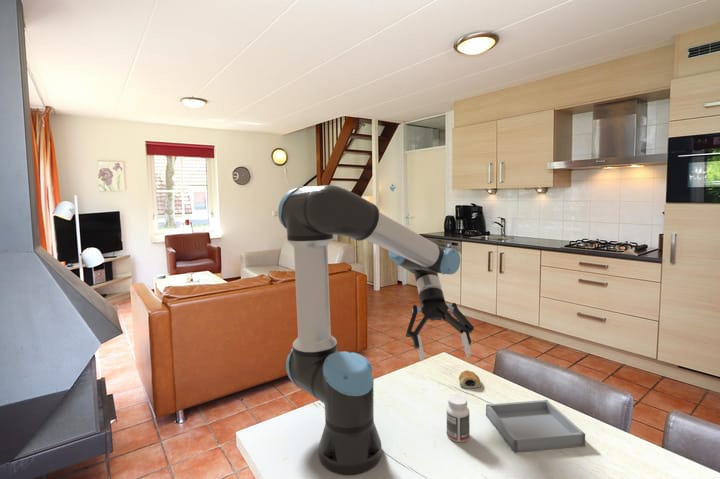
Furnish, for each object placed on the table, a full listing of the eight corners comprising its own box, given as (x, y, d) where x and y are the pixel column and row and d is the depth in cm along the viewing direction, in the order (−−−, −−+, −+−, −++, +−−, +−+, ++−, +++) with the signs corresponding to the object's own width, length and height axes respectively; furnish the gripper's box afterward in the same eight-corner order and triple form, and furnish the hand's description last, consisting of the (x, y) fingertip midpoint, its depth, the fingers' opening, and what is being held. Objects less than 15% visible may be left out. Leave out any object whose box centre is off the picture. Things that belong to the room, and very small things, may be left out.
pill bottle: (467, 429, 101) (467, 394, 100) (471, 443, 95) (471, 405, 94) (445, 429, 101) (445, 393, 100) (448, 442, 96) (448, 405, 94)
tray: (514, 452, 91) (514, 440, 91) (485, 415, 107) (486, 404, 107) (584, 446, 93) (585, 433, 93) (546, 410, 109) (546, 399, 108)
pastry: (457, 375, 132) (458, 365, 132) (478, 376, 131) (478, 366, 130) (459, 388, 123) (459, 377, 122) (481, 390, 122) (481, 378, 121)
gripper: (465, 296, 125) (484, 359, 112) (390, 300, 123) (400, 365, 110) (471, 284, 120) (492, 348, 106) (393, 288, 117) (404, 354, 104)
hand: (445, 357), depth 108 cm, fingers open, 13 cm apart
